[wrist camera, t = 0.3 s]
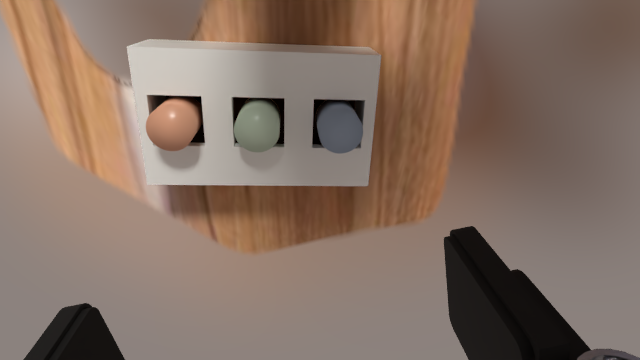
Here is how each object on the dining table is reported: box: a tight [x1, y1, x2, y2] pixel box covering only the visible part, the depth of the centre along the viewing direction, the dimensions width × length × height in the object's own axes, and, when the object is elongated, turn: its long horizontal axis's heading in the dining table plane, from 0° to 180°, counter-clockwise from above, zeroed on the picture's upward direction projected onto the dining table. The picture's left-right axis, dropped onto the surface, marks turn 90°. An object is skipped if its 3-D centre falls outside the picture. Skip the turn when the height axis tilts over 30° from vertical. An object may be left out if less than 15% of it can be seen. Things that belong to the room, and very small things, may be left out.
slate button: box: [316, 99, 363, 154], centre depth 39 cm, size 4×4×5 cm
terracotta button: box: [146, 96, 203, 151], centre depth 38 cm, size 4×4×5 cm
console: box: [127, 39, 381, 186], centre depth 41 cm, size 13×22×6 cm, turn 88°
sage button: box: [234, 97, 281, 152], centre depth 38 cm, size 4×4×5 cm
